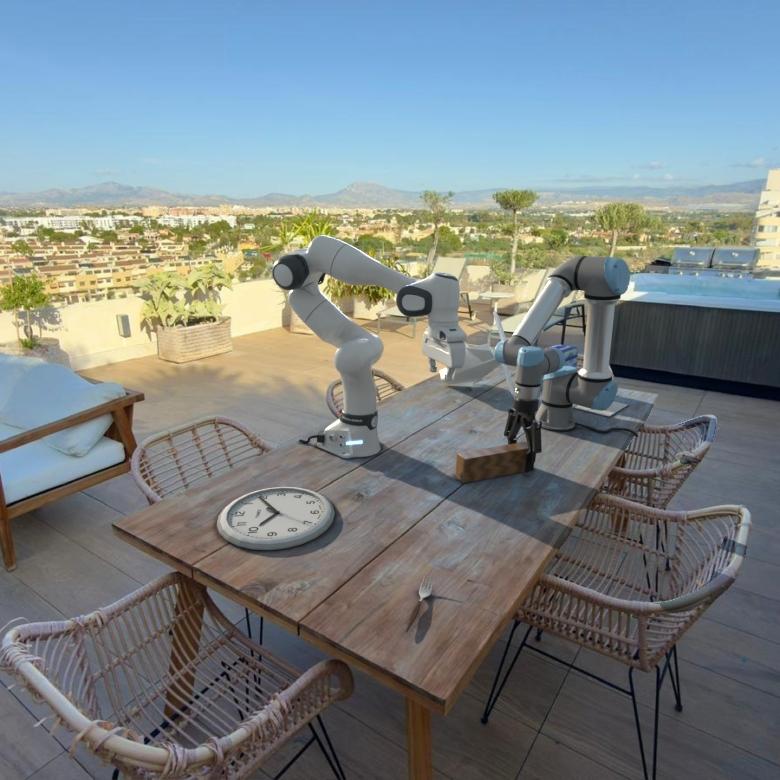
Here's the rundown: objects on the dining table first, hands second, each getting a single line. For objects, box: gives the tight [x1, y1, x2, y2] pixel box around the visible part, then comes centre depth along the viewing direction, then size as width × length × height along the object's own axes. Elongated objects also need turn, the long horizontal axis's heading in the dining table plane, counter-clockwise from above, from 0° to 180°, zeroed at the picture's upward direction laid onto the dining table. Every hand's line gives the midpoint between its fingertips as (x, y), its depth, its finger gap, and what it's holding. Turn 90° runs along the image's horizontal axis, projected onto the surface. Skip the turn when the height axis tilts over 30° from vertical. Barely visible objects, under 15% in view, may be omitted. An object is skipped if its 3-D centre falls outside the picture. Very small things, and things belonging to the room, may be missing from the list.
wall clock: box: [216, 486, 336, 551], centre depth 136 cm, size 30×2×30 cm
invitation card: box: [573, 400, 629, 418], centre depth 226 cm, size 21×1×15 cm
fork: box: [405, 574, 436, 633], centre depth 105 cm, size 3×16×2 cm, turn 160°
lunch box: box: [540, 344, 579, 392], centre depth 247 cm, size 26×11×21 cm, turn 134°
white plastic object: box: [438, 310, 517, 398], centre depth 245 cm, size 37×45×31 cm
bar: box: [455, 441, 533, 484], centre depth 162 cm, size 25×5×8 cm, turn 113°
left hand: (440, 375), depth 156 cm, fingers open, 8 cm apart
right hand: (519, 464), depth 167 cm, fingers open, 9 cm apart
